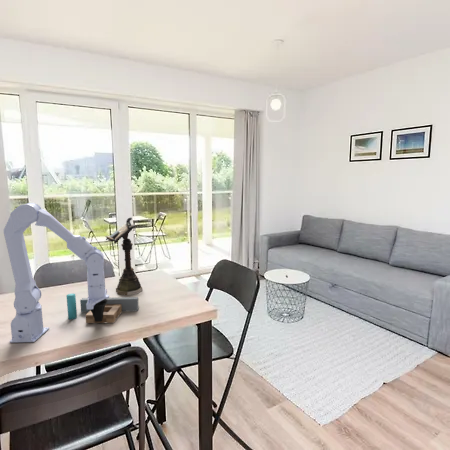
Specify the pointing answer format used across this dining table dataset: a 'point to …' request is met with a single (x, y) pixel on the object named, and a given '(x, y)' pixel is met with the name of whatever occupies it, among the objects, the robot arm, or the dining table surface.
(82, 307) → the backstop wall
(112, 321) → the wooden square frame
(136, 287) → the dark bronze tall stand
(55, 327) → the dining table surface
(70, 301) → the dowel
